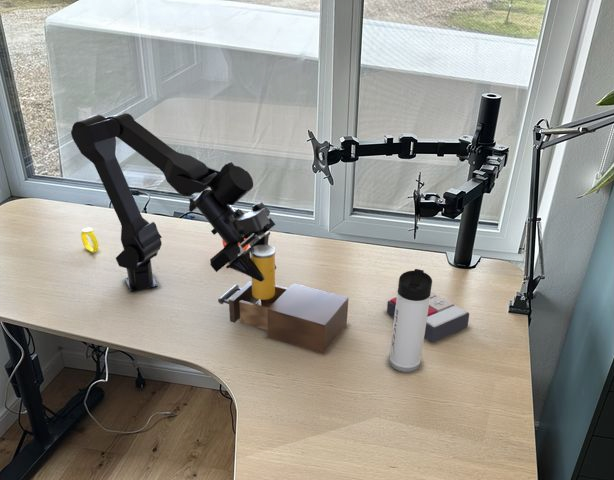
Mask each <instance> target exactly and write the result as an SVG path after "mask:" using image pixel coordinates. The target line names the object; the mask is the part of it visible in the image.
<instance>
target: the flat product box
mask: <svg viewBox="0 0 614 480" xmlns="http://www.w3.org/2000/svg"><path fill="white" fill-rule="evenodd" d="M396 299H397V296H396V297H393V298H390V300H388V301H387V304H386V306H387V307H386V314H388V315H390V316H391V317H392V318H394V316H395V307H396ZM469 320H470V313H469V312H468V311H467V310H466V309H465V310H464V309H463V308H461V307H459V306H457V305H455V304H454V303H453V302H451V301H449V300H447V299H446V298H443V297H442V296H440V295H437V294H436V293H434V292H432V291H431V295H430V302H429V308H428V315H427V322H426V328H425V335H424V340H425V339H426V340H427V341H429V342H430V343H436V342H438V341H440V340H443V339H445V338H448V337H450V336H452V335H454V334H456V333H458V332H460V331H463V330H465V329H467V328H468V326H469Z"/></svg>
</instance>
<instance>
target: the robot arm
mask: <svg viewBox="0 0 614 480" xmlns="http://www.w3.org/2000/svg"><path fill="white" fill-rule="evenodd" d="M71 128H72V129H71V131H70V135H71V139H72V140H73V142H74V144H75V145H76V147H77V148H78V150H79V152H80V154H81V155H82V156H83V157H85V158H86V159H87V160H89V161H90V162H91V163H92V164H93V165H94V167H95V169H96V172H97V174H98V177H99V179H100V181H101V183H102V185H103V188H104V190H105V192H106V194H107V196H108V198H109V201H110V203H111V205H112V208H113V209H114V212H115V214H116V216H117V218H118V221H119V223H120V226H121V228H120V242H121V245H122V249H123V250H121V252H120V253H119V254H118V255H117V256H116V257H115V260H116V263H117V265H118V266H119V267H120V268H124V269H126V274H127V277H125V279H124V280H125V283H126V286H127V288H128V290H129V291H130V292H131V293H134V292H140V291H144V290H149V289H154V288H158V283H157V281H156V280H155V277H154V275H153V268H152V259H153V258H155V257H157V256H158V252H159V251H160V250H161V247H162V245H163V243H162V238H163V237H162V235H161V234H160V233H159V230H158V227H157V224H156V222H155V221H152V222H149V221H148V220H147V219H145V218H144V217H143V215H142V214H141V211H140V208H139V207H138V204H137V202H136V200H135V198H134V195H133V193H132V191H131V188H130V186H129V183H128V181H127V179H126V177H125V174H124V172H123V170H122V168H121V166H120V163H119V161H118V158H117V156H116V155H117V154H116V152H117V138H118V139H119V140H120V141H122V142H123V143H124V144H126V145H127V146H128V147H130V148H131V149H132V150H134V152H136V153H138V155H140V156H142V157H143V158H144V159H145V160H146V161H148V162H150V163H151V164H152V165H153V166H155V167H156V168H157V169H159V170H160V172H161V173H163V176H164V178H165V180H166V183H168V185H170V186H171V188H173V189H174V190H175V191H176V192H177V194H179V195H180V196H183V197H190V198H189V199H188V200H189V205H188V212H190V213H193V212H194V211H196V210H199V212H200V213H201V214H202V215H203V217H204V218H205V219H206V221H207V222H208V223H209V224H210V225H211V227H212V228H213V229H212V230H210V232H211V234H212V235H213V236H215V235H219V237H220V239H222V241H223V240H224V241H225V243H226V245H225V246H223V248H222V249H220V251H219V252H217V253H216V254H215V255H214V256H213V257H211V258H209V263H210V267H212V269H213V270H214V272H215V273H217V272H219V271H220V270H221V269H222V268H224V267H225V268H226V269H232V270H235V271H237V272H239V273H242V274H243V275H246V276H248V277H251V279H252V278H254V279H256V280H258V281H260V282H262V281H263V280H264V277H263V275H262V273H261V272H260V271H259V269H258V268H257V266H256V265H255V264H254V262H253V261H252V259H251V253H250V250H251V248H252V247H254V246H257V245H269V238H270V235H271V232H270V231H269V230H271V229H272V228H273V227H275V226H276V223H275V222H274V221H273V219H272V218H271V217H269V216H270V214H271V211H270V209H268V207H267V205H265V204H264V203H263V202H262V201H261V202H256V203H255V204H254V205H252V208H251V210H250V211H249V212H246V213H244V211H243V210H242V209H240V208H238V209H236V210H235V209H234V207H233V206H234V205H236V204H237V203H238V202H239V201H240V200H242V198H243V197H245V196H246V195H247V194H248V193H249V192H250V191H251V190H252V189H253V188H254V180H253V177H252V176H251V174H250V173H249V171H247V170H245V169H244V168H243V167H241V166H238V165H235V164H234V163H233V162H232V161H228V162H227V163H225V164H224V165H223V166H222V167H221V169H220V170H218V169H215V168H212V167H210V166H207V165H206V164H205V162H203V161H202V160H199V159H197V158H195V157H194V156H192V155H190V154H185V153H181V152H179V151H177V150H175V149H174V148H172V147H170V146H169V145H168V144H166V142H164V141H163V140H162V139H160V138H158V136H156V135H155V134H154V133H152V132H151V131H149V130H148V129H147V128H146V127H144V126H143V125H142V124H140V123H139V122H138V121H136V120H135V118H134V117H133V116H132V114H130V113H128V112H127V113H126V112H122V113H119V114H114V115H110V116H106V117H105V116H103V115H102V114H94V115H90V116H89V117H86V118H84V119H81V120H78V121H76V122H74V123H73V124H72V126H71ZM209 188H210V189H209ZM194 194H195V195H194ZM197 194H198V195H197ZM244 238H245V239H246V240H244ZM238 243H240V244H238ZM247 244H249V246H250V247H248V248H247V249H246V251H245V250H244V249H243V248H244V247H245V246H246V245H247ZM226 265H227V266H226ZM275 270H277V266H276V264H275Z"/></svg>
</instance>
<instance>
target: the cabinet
mask: <svg viewBox="0 0 614 480" xmlns="http://www.w3.org/2000/svg"><path fill="white" fill-rule="evenodd" d="M287 288H288V289H287V290H286V291H285V292H284V293H283V294H282V295H281V296H280V297H279V298H278V299H277V300H276V301H275V302H274V303H273V304H272V305H271V306H270V307H269V308H268V309H267V311H268V312H267V315H268V330H267V338H268V339H271V340H275V341H279V342H281V343H282V342H283V343H285V344H289V345H291V346H296V347H299V348H301V349H305V350H308V351H312V352H315V353H319V354H323V355H325V353H326V352H327V351H328V349H330V347H331V346H332V344H333V343H334V342H335V341H336V339H337V338H338V337H339V335H341V333H342V332H343V331H344V329H345V328H346V327H347V324H348V314H349V313H348V312H349V311H348V310H349V297H348V296H345V295H341V294H337V293H333V292H329V291H327V290H326V291H325V290H321V289H318V288H314V287H311V286H306V285H302V284H298V283H294V282H293V283H292V284H291V285H290V286H289V287H287Z"/></svg>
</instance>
